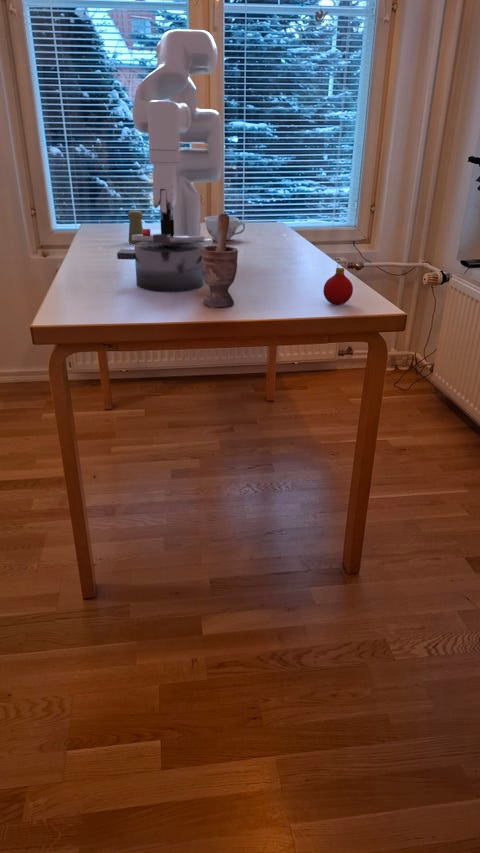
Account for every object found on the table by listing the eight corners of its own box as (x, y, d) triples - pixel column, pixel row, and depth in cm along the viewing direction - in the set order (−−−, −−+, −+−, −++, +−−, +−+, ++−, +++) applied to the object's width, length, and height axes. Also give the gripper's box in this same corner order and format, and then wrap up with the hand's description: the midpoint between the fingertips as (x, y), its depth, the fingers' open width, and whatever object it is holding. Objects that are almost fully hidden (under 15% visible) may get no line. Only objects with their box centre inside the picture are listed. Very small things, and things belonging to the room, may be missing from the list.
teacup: (203, 242, 212) (203, 219, 208) (205, 236, 223) (205, 215, 219) (244, 243, 212) (245, 220, 208) (244, 237, 223) (245, 215, 219)
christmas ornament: (324, 308, 139) (328, 266, 135) (320, 300, 145) (323, 259, 141) (353, 308, 139) (358, 266, 135) (348, 300, 146) (352, 260, 141)
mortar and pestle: (196, 296, 146) (195, 212, 137) (230, 295, 148) (231, 212, 139) (204, 309, 136) (203, 220, 127) (240, 307, 138) (241, 219, 129)
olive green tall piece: (141, 244, 207) (139, 211, 201) (125, 243, 208) (123, 211, 202) (147, 241, 212) (145, 209, 207) (131, 240, 213) (129, 208, 208)
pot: (128, 273, 167) (126, 237, 162) (221, 275, 167) (221, 239, 162) (114, 290, 150) (111, 251, 145) (217, 293, 149) (217, 253, 145)
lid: (139, 238, 161) (138, 227, 160) (207, 239, 161) (207, 229, 160) (120, 243, 138) (119, 230, 137) (199, 244, 138) (199, 232, 137)
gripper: (154, 156, 149) (157, 230, 157) (144, 159, 135) (148, 240, 144) (183, 156, 149) (185, 231, 157) (176, 160, 135) (178, 241, 144)
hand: (167, 235), depth 150 cm, fingers closed
